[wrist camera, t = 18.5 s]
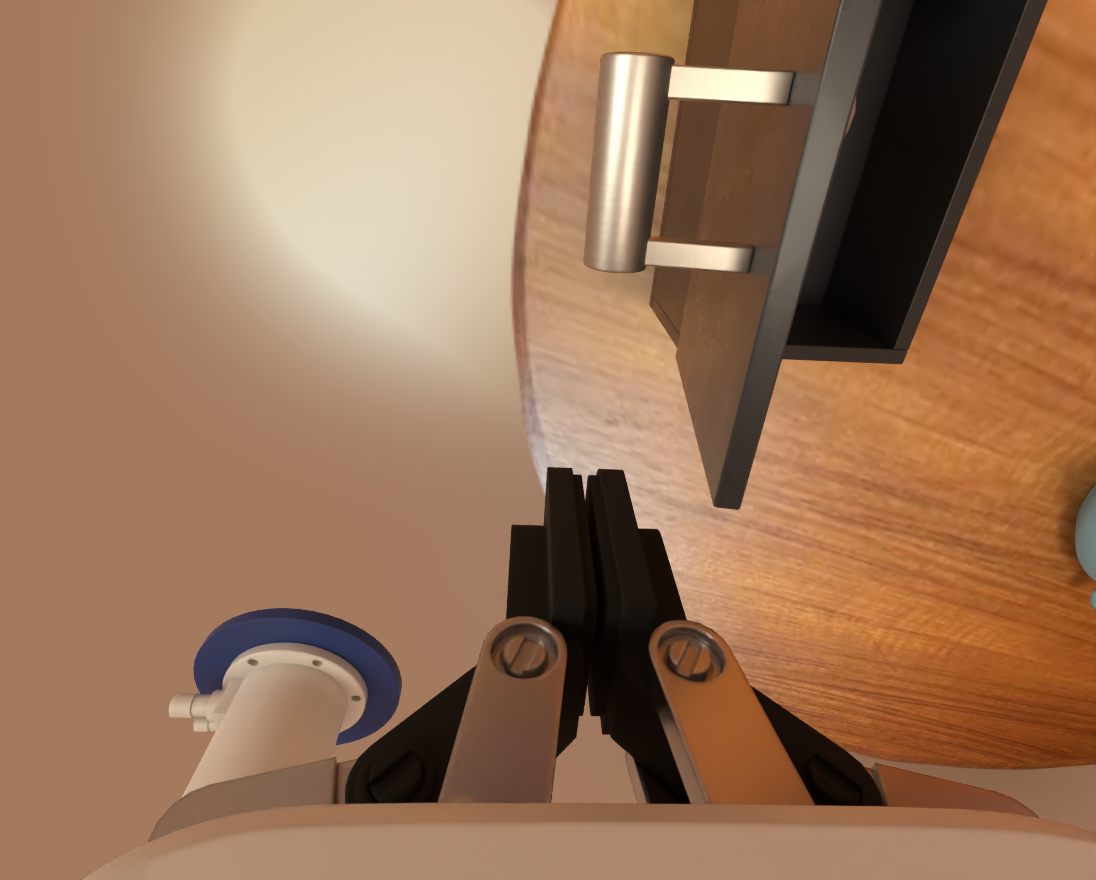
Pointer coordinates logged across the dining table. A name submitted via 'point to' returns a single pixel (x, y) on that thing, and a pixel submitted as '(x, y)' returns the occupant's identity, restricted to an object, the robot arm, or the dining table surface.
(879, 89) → the bin
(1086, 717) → the dining table surface
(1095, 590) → the teapot
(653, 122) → the bin lid
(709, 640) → the robot arm
